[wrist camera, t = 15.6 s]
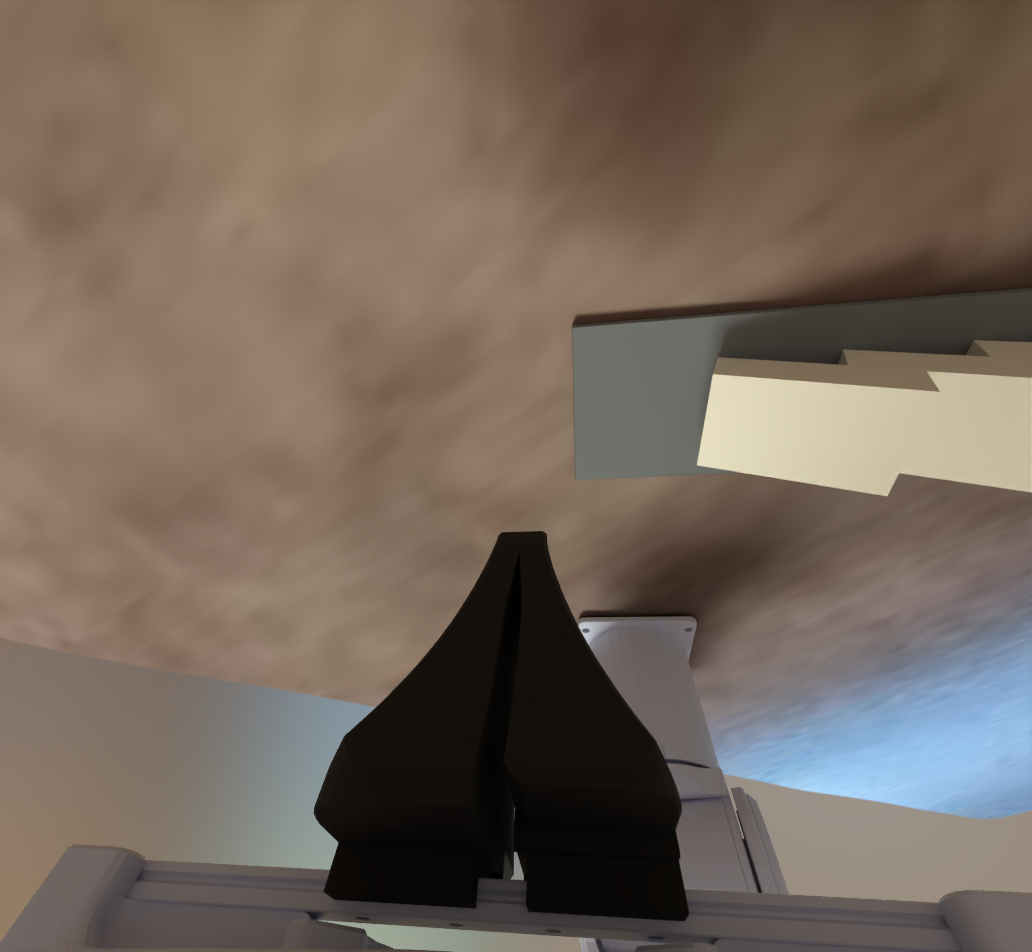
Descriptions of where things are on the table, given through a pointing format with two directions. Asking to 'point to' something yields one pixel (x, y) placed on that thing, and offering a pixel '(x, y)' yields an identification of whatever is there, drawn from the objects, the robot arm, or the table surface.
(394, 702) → the robot arm
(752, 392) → the domino
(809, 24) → the table surface
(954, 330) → the mat
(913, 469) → the domino
